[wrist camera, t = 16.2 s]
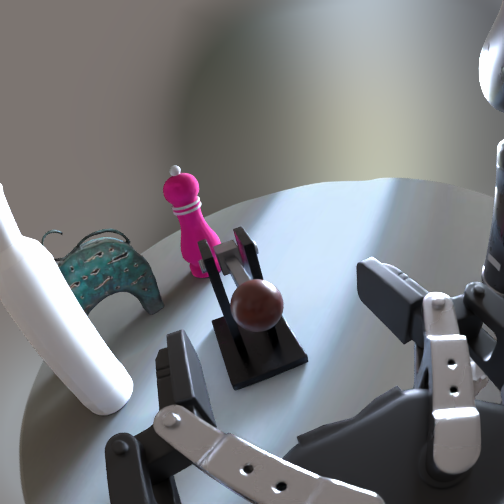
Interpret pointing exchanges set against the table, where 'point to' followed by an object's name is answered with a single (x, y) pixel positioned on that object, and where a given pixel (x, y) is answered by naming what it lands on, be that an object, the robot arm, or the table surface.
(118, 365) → the bottle
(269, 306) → the press lever
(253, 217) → the table surface
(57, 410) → the table surface
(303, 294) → the table surface
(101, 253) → the ceramic cat
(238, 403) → the table surface
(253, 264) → the lever bracket
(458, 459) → the robot arm
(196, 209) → the pepper mill
